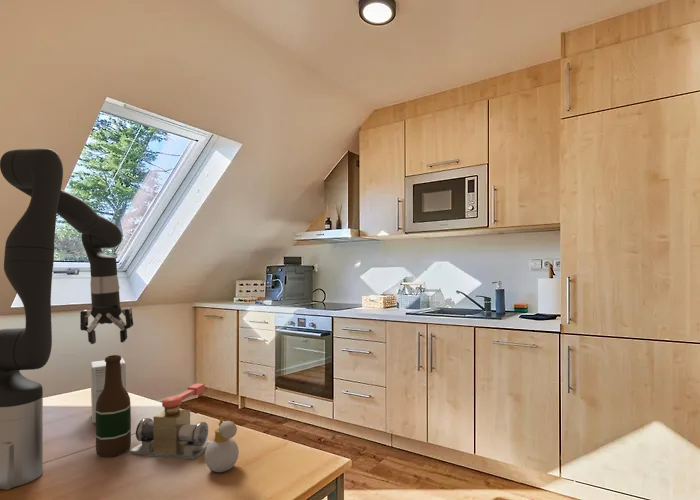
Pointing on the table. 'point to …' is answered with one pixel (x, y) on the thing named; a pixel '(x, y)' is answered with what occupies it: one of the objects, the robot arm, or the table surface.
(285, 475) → the table surface
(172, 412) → the valve
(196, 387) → the lever
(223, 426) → the perfume bottle
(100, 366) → the supplement box
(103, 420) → the beer bottle
